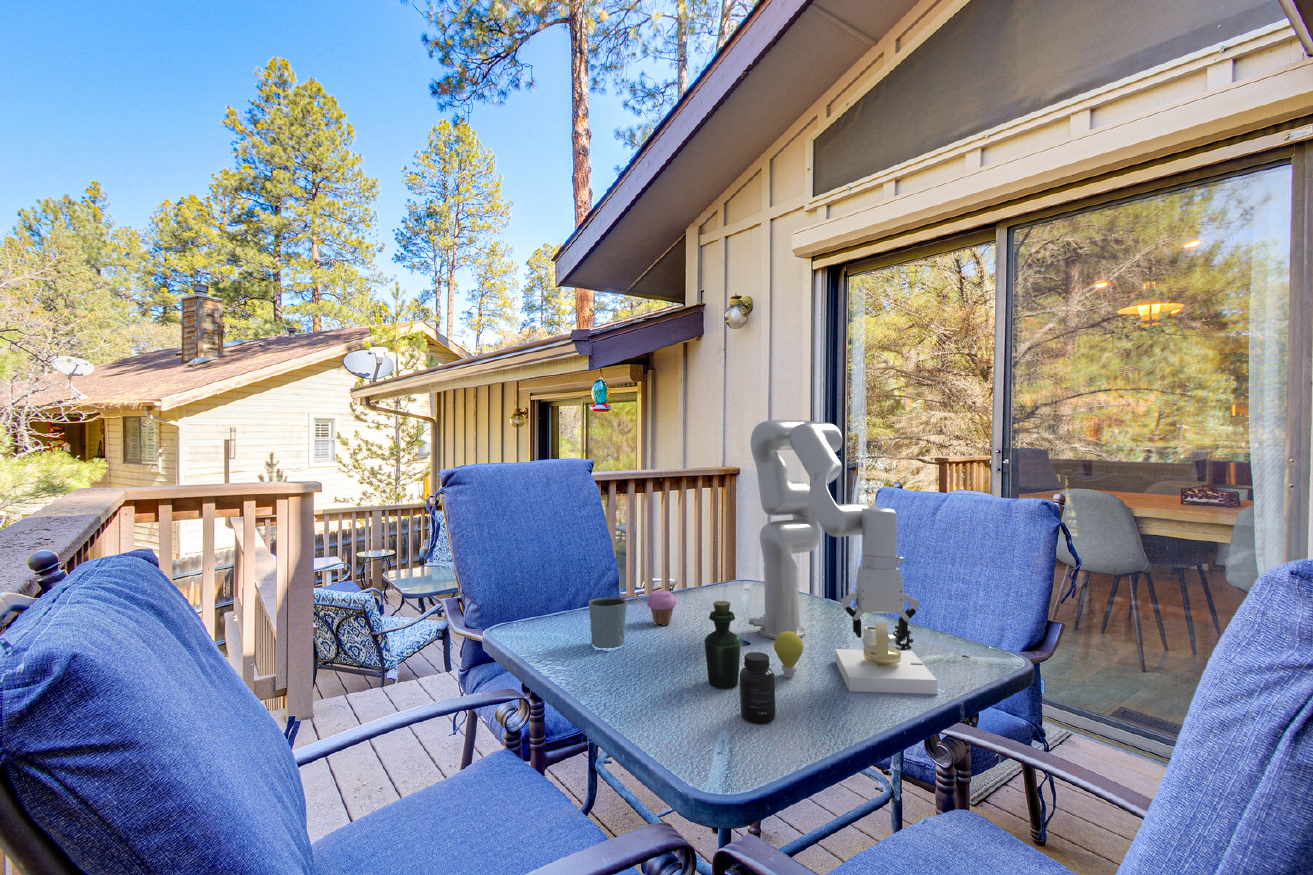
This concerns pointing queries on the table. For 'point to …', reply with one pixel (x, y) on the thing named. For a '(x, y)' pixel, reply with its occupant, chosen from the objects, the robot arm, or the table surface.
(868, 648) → the knob
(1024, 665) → the table surface
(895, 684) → the base plate
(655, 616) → the cupcake
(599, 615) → the grey cup
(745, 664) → the supplement bottle
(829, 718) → the table surface
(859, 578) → the robot arm
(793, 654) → the light bulb
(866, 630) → the valve
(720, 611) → the potion bottle
